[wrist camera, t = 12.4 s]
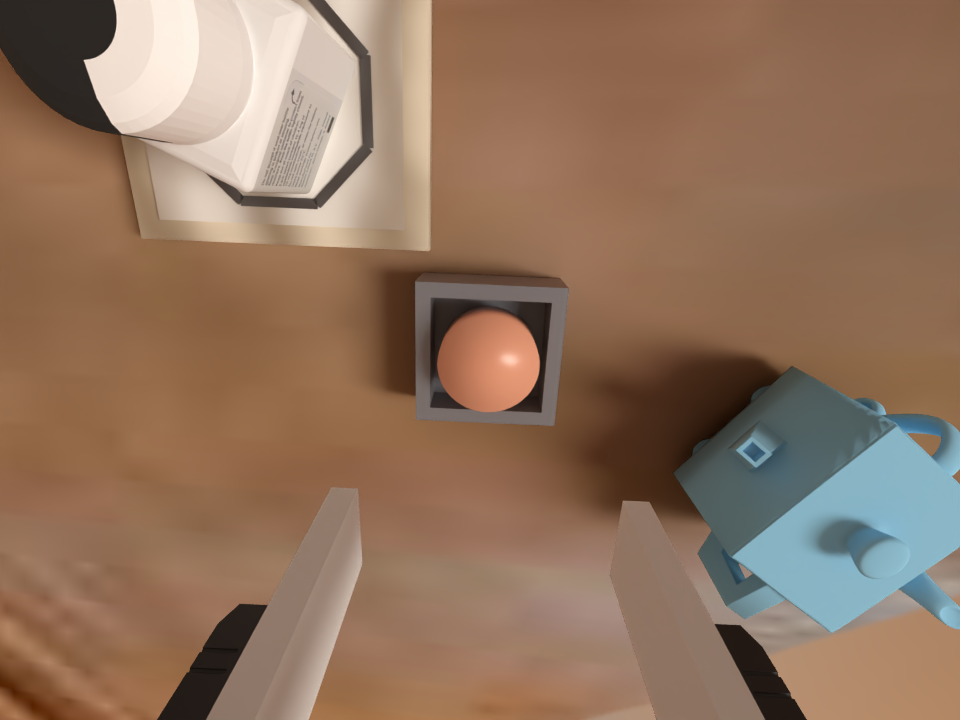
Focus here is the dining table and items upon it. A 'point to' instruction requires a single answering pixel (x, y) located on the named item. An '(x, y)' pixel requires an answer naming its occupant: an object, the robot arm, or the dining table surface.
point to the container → (190, 79)
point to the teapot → (825, 503)
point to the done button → (488, 359)
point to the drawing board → (347, 159)
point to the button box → (522, 296)
